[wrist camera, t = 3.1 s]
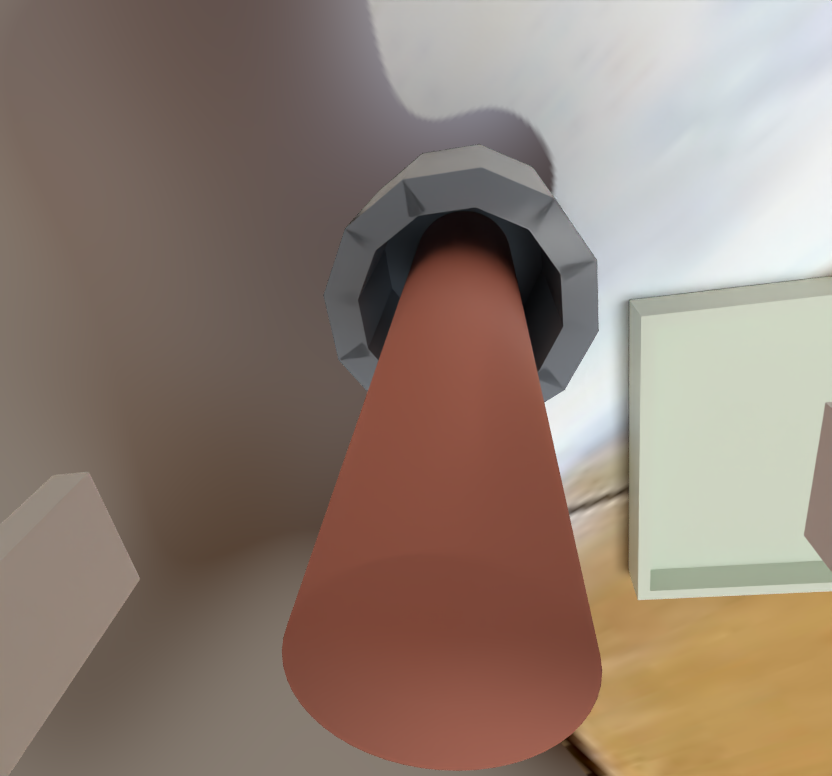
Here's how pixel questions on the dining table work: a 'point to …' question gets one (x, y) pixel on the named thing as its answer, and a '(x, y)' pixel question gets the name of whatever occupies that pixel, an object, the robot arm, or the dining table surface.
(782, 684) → the dining table surface
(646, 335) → the tray
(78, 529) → the robot arm
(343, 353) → the crock
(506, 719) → the dowel
